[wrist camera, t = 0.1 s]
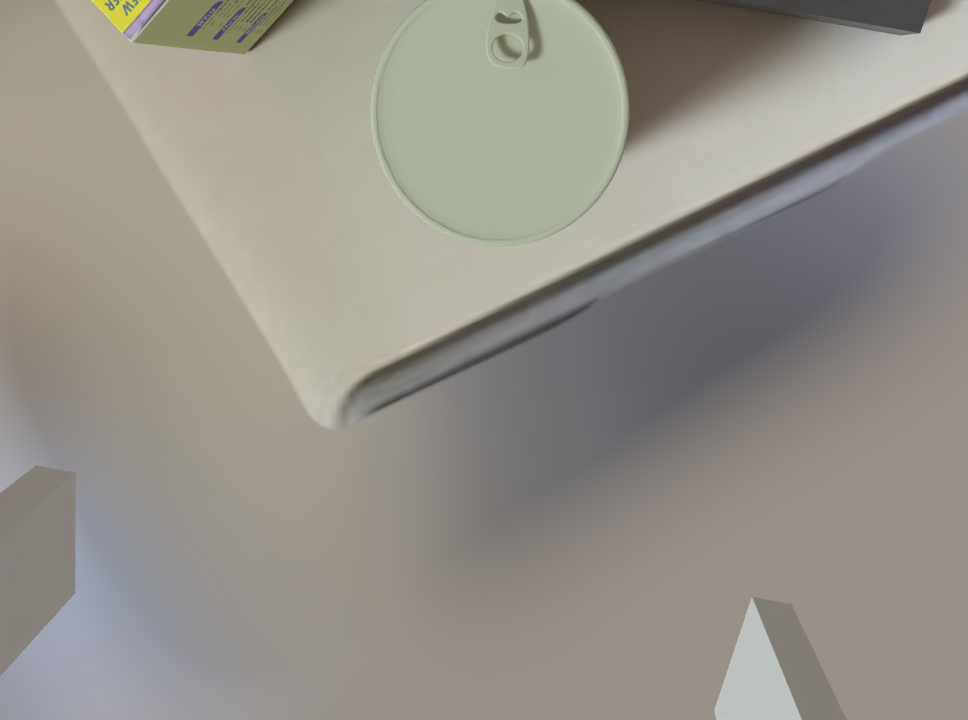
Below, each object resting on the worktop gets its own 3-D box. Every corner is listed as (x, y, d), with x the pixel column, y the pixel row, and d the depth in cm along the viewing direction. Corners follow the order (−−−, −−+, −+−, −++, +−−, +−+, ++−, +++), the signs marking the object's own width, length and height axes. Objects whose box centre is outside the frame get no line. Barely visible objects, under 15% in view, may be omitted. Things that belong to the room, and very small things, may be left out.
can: (619, 11, 38) (652, -17, 27) (593, 211, 41) (614, 262, 30) (420, -6, 38) (369, -41, 27) (409, 194, 41) (360, 238, 30)
